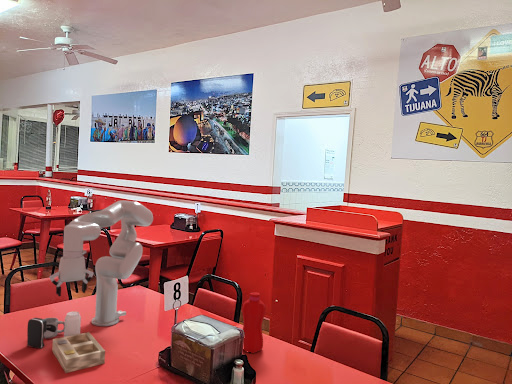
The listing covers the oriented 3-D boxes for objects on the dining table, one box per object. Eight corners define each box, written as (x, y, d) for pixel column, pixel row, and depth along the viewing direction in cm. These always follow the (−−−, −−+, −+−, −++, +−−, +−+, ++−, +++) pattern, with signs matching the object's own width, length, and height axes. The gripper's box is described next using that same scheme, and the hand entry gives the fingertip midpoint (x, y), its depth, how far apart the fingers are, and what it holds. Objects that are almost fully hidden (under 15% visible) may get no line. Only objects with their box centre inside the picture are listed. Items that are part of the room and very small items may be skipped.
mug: (39, 339, 173) (40, 323, 172) (41, 332, 179) (42, 318, 179) (65, 337, 177) (66, 322, 176) (66, 330, 183) (67, 316, 182)
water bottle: (248, 341, 186) (252, 287, 184) (265, 350, 178) (269, 294, 176) (233, 346, 179) (237, 290, 178) (250, 355, 171) (254, 297, 170)
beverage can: (82, 341, 173) (83, 314, 173) (67, 345, 169) (68, 317, 168) (76, 336, 178) (77, 309, 177) (61, 340, 173) (62, 312, 172)
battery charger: (47, 345, 167) (48, 318, 167) (40, 349, 164) (41, 321, 163) (33, 342, 169) (34, 315, 169) (26, 346, 166) (27, 318, 165)
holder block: (88, 343, 172) (88, 331, 171) (104, 363, 156) (105, 350, 156) (52, 351, 163) (52, 338, 163) (65, 373, 147) (66, 358, 147)
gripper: (92, 250, 179) (90, 288, 180) (48, 253, 168) (47, 294, 170) (96, 254, 173) (95, 293, 174) (52, 257, 162) (50, 299, 164)
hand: (71, 293), depth 172 cm, fingers open, 9 cm apart
